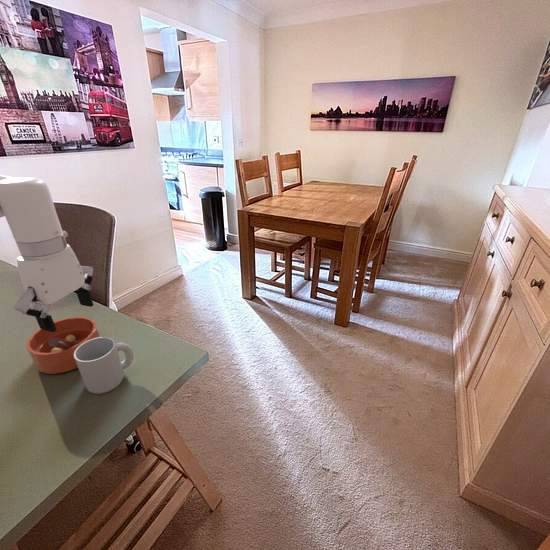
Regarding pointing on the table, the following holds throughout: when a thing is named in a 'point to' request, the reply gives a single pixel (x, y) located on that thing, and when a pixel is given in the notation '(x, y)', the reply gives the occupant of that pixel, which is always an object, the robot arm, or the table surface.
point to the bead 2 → (70, 338)
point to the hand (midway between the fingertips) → (69, 317)
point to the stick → (61, 343)
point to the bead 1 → (56, 349)
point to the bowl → (64, 358)
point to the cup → (102, 363)
